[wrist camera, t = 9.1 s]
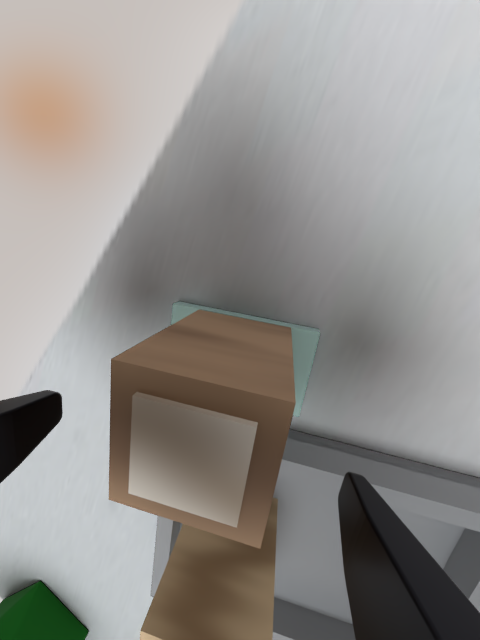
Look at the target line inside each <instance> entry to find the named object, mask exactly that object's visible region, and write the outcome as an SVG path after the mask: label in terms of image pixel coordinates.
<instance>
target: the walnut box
mask: <svg viewBox="0 0 480 640" xmlns="http://www.w3.org/2000/svg"><path fill="white" fill-rule="evenodd" d="M295 404H296V399H295V383H294V366H293V349H292V333H291V327H286V326H280V325H275V324H270V323H265V322H260V321H255V320H250V319H245V318H240V317H235V316H229V315H224V314H219V313H214V312H209V311H204V310H197V311H195V312H194V313H192V314H190V315H188V316H187V317H185V318H183V319H181V320H179V321H178V322H176V323H174V324H172V325H171V326H169V327H167V328H165V329H164V330H162V331H160V332H158V333H156V334H155V335H153V336H151V337H149V338H148V339H146V340H144V341H142V342H141V343H139V344H137V345H135V346H133V347H132V348H130V349H128V350H126V351H125V352H123V353H121V354H119V355H118V356H116V357H114V358H112V359H111V400H110V460H109V500H112V501H115V502H118V503H121V504H124V505H127V506H130V507H133V508H136V509H139V510H142V511H145V512H148V513H152V514H155V515H158V516H161V517H164V518H167V519H170V520H173V521H176V522H179V523H182V524H185V525H188V526H191V527H195V528H198V529H201V530H204V531H207V532H210V533H213V534H216V535H219V536H222V537H225V538H228V539H231V540H234V541H237V542H241V543H244V544H247V545H250V546H253V547H256V548H259V549H260V548H261V544H262V540H263V536H264V532H265V527H266V523H267V519H268V515H269V511H270V507H271V503H272V499H273V495H274V490H275V486H276V482H277V478H278V474H279V470H280V466H281V462H282V457H283V453H284V449H285V445H286V441H287V437H288V433H289V429H290V425H291V420H292V416H293V412H294V408H295Z"/></svg>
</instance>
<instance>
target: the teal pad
mask: <svg viewBox="0 0 480 640" xmlns="http://www.w3.org/2000/svg"><path fill="white" fill-rule="evenodd" d="M197 310H204V311H209V312H214V313H219V314H224V315H229V316H235V317H240V318H245V319H250V320H255V321H260V322H265V323H270V324H275V325H280V326H286V327H291V333H292V349H293V366H294V383H295V399H296V404H295V408H294V412H293V416H296V417H299V415H300V411H301V407H302V403H303V399H304V395H305V392H306V388H307V384H308V380H309V376H310V372H311V368H312V364H313V360H314V357H315V353H316V349H317V345H318V341H319V337H320V331H319V329H316V328H311V327H306V326H301V325H296V324H291V323H286V322H281V321H276V320H271V319H266V318H261V317H255V316H250V315H245V314H240V313H235V312H230V311H225V310H220V309H215V308H210V307H205V306H200V305H195V304H190V303H185V302H180V301H178V302H176V303H173V307H172V319H171V325H172V324H174V323H176V322H178V321H179V320H181V319H183V318H185V317H187V316H188V315H190V314H192V313H194V312H195V311H197Z"/></svg>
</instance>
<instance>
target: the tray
mask: <svg viewBox="0 0 480 640" xmlns="http://www.w3.org/2000/svg"><path fill="white" fill-rule="evenodd" d="M349 471H350V472H354V473H357V474H361V475H363V476H364V477H365V478H366V479H367V480H368V481H369V483H370V484H371V485H372V486H373V487H374V488H375V490H376V491H377V492H378V493H379V494H380V496H381V497H382V498H383V499H384V500H385V501H386V503H387V504H388V505H389V506H390V507H391V508H392V510H393V511H394V512H395V513H396V514H397V516H398V517H399V518H400V519H401V520H402V521H403V523H404V524H405V525H406V526H407V527H408V529H409V530H410V531H411V532H412V533H413V534H414V536H415V537H416V538H417V539H418V540H419V541H420V543H421V544H422V545H423V546H424V547H425V549H426V550H427V551H428V552H429V553H430V554H431V556H432V557H433V558H434V559H435V560H436V561H437V563H438V564H439V565H440V566H441V567H442V569H443V570H444V571H445V572H446V573H447V574H448V576H449V577H450V578H451V579H452V580H453V581H454V583H455V584H456V585H457V586H458V587H459V589H460V590H461V591H462V592H463V593H464V594H465V596H466V597H467V598H468V599H469V600H470V601H471V603H472V604H473V605H474V606H475V607H476V609H477V610H478V611H479V612H480V478H476V477H472V476H469V475H465V474H461V473H457V472H453V471H449V470H445V469H441V468H438V467H434V466H430V465H426V464H422V463H418V462H414V461H410V460H407V459H403V458H399V457H395V456H391V455H387V454H383V453H379V452H375V451H372V450H368V449H364V448H360V447H356V446H352V445H348V444H344V443H341V442H337V441H333V440H329V439H325V438H321V437H317V436H313V435H310V434H306V433H302V432H298V431H294V430H290V429H289V433H288V437H287V441H286V445H285V449H284V453H283V457H282V462H281V466H280V470H279V474H278V478H277V482H276V486H275V490H274V495H273V498H276V499H278V508H277V534H276V560H275V586H274V611H273V637H272V640H356V639H355V634H354V628H353V622H352V617H351V611H350V605H349V600H348V594H347V588H346V582H345V576H344V567H343V557H342V546H341V534H340V522H339V511H338V494H339V491H340V488H341V485H342V482H343V479H344V476H345V474H346V473H347V472H349ZM182 525H183V524H182V523H179V522H176V521H173V520H170V519H167V518H164V517H161V516H158V520H157V531H156V542H155V553H154V564H153V574H152V585H151V596H152V597H154V596H155V593H156V590H157V588H158V585H159V583H160V580H161V578H162V575H163V573H164V570H165V568H166V565H167V563H168V560H169V558H170V555H171V552H172V550H173V547H174V545H175V542H176V540H177V537H178V535H179V532H180V530H181V527H182Z"/></svg>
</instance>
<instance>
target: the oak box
mask: <svg viewBox="0 0 480 640" xmlns="http://www.w3.org/2000/svg"><path fill="white" fill-rule="evenodd" d="M277 508H278V499H276V498H273V499H272V503H271V507H270V511H269V515H268V519H267V523H266V527H265V532H264V536H263V540H262V544H261V548H260V549H259V548H256V547H253V546H250V545H247V544H244V543H241V542H237V541H234V540H231V539H228V538H225V537H222V536H219V535H216V534H213V533H210V532H207V531H204V530H201V529H198V528H195V527H191V526H188V525H185V524H183V525H182V527H181V530H180V532H179V535H178V537H177V540H176V542H175V545H174V547H173V550H172V552H171V555H170V558H169V560H168V563H167V565H166V568H165V570H164V573H163V575H162V578H161V580H160V583H159V585H158V588H157V590H156V593H155V596H154V598H153V601H152V603H151V606H150V608H149V611H148V613H147V616H146V618H145V621H144V623H143V626H142V628H141V632H140V640H272V637H273V611H274V586H275V560H276V534H277Z"/></svg>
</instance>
